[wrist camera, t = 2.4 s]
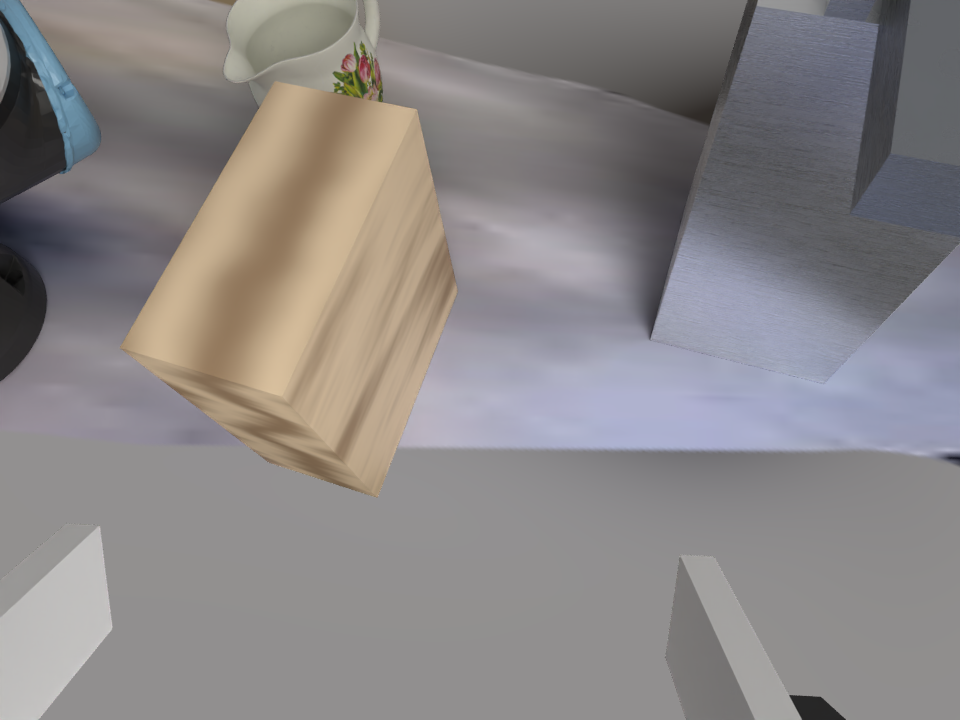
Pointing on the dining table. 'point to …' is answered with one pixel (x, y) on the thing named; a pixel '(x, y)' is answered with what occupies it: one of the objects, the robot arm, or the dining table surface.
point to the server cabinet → (789, 203)
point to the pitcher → (304, 46)
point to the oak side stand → (309, 287)
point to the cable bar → (913, 120)
